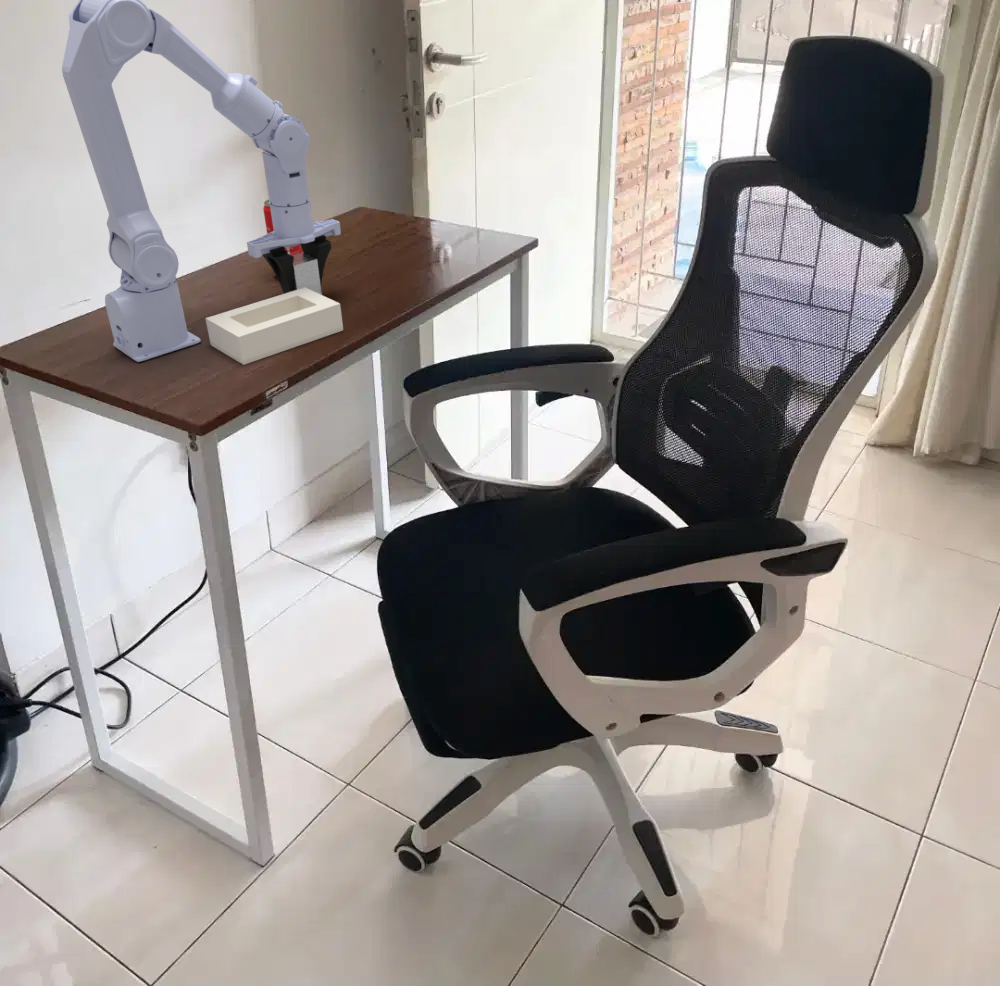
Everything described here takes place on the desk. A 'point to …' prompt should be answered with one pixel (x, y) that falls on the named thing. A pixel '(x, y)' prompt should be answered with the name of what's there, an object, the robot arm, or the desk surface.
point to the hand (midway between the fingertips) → (302, 292)
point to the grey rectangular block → (306, 273)
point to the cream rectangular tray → (274, 325)
